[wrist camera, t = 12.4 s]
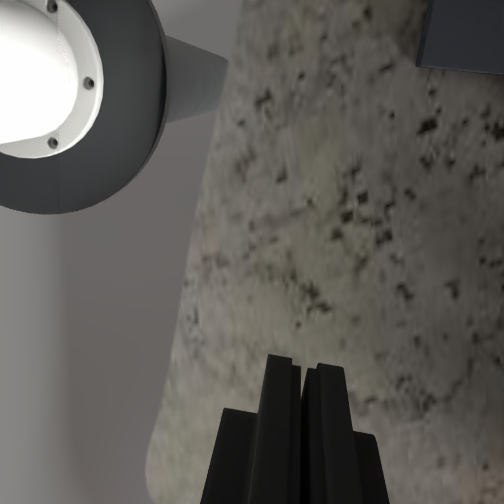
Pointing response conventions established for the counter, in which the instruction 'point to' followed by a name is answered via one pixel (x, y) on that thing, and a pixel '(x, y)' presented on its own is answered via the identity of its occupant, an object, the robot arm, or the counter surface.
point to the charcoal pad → (463, 36)
